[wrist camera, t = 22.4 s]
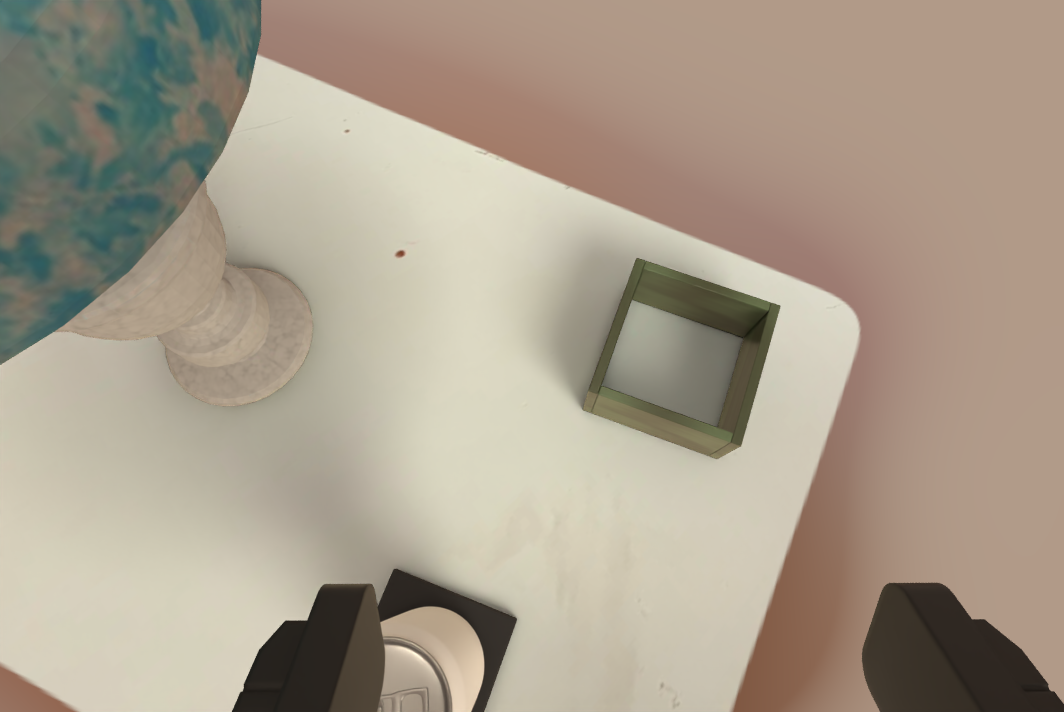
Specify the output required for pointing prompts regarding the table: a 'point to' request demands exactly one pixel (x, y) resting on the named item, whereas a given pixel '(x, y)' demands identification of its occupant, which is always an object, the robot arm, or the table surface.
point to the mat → (485, 620)
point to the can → (430, 662)
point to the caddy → (707, 308)
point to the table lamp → (135, 189)
